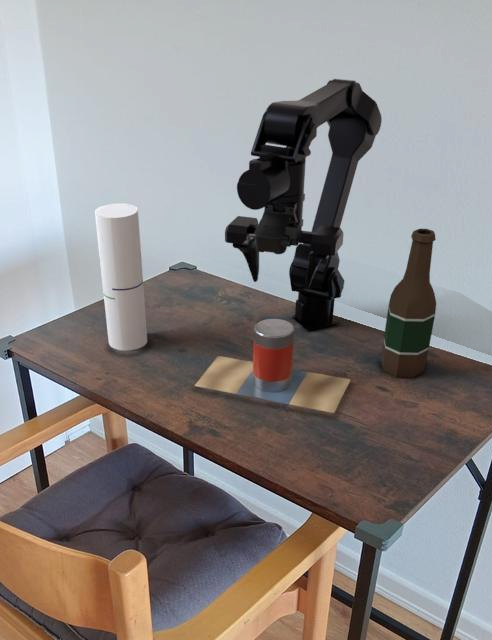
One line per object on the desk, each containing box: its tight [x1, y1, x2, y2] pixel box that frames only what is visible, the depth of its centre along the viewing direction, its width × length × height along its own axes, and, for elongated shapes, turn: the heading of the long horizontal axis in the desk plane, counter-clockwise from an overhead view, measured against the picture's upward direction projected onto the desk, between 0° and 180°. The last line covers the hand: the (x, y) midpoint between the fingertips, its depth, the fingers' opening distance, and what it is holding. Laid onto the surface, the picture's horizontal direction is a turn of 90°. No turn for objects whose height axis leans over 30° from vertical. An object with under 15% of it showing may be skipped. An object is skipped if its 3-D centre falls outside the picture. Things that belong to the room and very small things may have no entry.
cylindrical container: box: [94, 202, 148, 352], centre depth 132 cm, size 7×7×25 cm
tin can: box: [252, 318, 295, 392], centre depth 123 cm, size 6×6×10 cm
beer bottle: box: [380, 228, 437, 379], centre depth 124 cm, size 8×8×24 cm
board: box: [194, 355, 352, 414], centre depth 126 cm, size 24×11×1 cm, turn 68°
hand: (281, 284), depth 128 cm, fingers open, 9 cm apart
